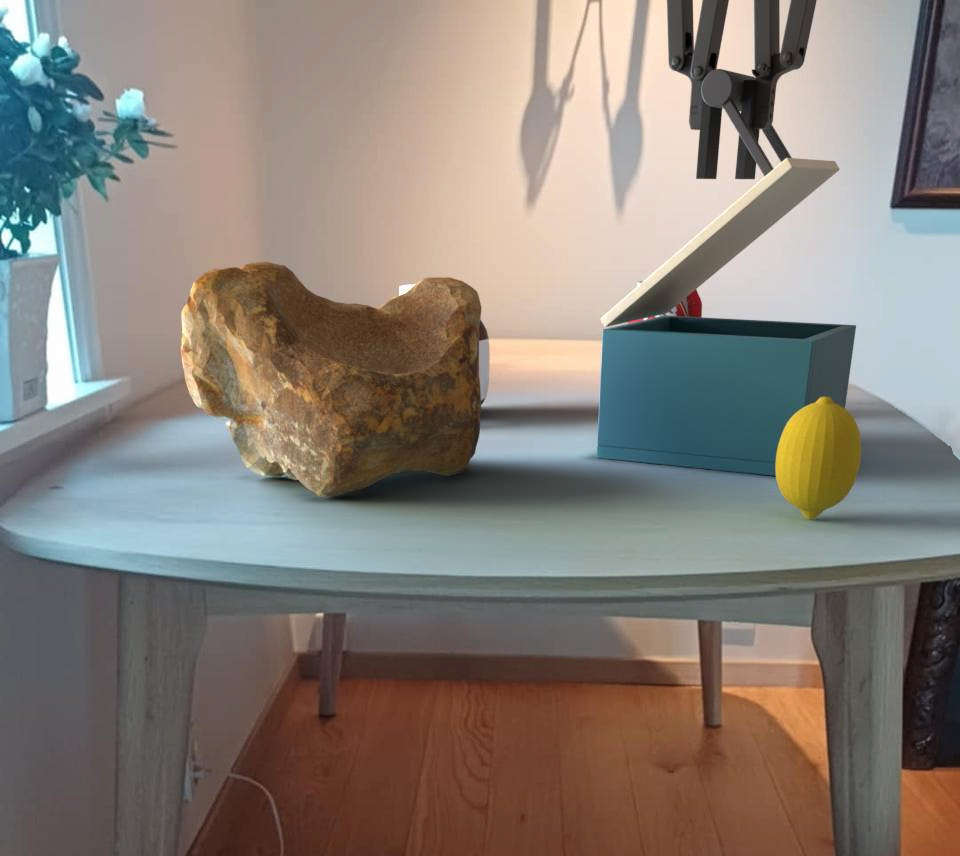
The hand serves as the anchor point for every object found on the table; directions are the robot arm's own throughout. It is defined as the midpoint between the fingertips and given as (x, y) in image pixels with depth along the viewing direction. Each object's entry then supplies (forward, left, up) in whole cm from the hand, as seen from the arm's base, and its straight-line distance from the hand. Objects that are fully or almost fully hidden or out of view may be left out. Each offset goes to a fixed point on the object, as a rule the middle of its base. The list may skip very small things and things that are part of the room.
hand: (725, 178), depth 98 cm
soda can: (+10, -17, -21) cm, 29 cm away
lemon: (-15, +20, -21) cm, 32 cm away
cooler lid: (0, 0, -5) cm, 5 cm away
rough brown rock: (+19, +25, -21) cm, 38 cm away
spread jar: (+28, -4, -21) cm, 35 cm away
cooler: (-2, 0, -21) cm, 21 cm away
